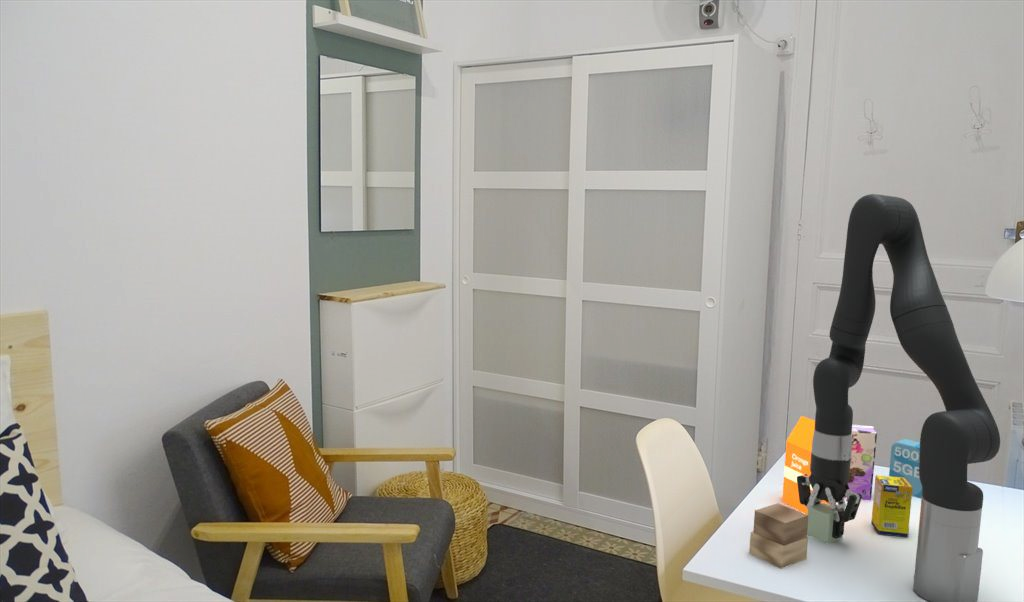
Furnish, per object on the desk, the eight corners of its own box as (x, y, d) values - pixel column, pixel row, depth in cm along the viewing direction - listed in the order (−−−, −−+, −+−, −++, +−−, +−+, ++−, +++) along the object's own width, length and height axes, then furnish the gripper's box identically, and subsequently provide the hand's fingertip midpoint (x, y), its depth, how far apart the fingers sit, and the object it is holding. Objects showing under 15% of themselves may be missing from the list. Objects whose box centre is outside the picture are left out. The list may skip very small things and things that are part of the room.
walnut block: (806, 537, 151) (808, 515, 151) (783, 546, 147) (785, 523, 147) (776, 524, 157) (777, 503, 156) (753, 532, 153) (754, 510, 152)
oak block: (806, 560, 152) (807, 537, 151) (781, 569, 147) (782, 546, 147) (774, 545, 158) (775, 523, 157) (749, 553, 154) (750, 532, 153)
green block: (842, 538, 161) (844, 510, 161) (827, 543, 159) (829, 515, 158) (821, 529, 166) (823, 502, 165) (806, 534, 163) (808, 506, 162)
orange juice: (808, 497, 183) (814, 414, 181) (836, 511, 175) (843, 424, 173) (781, 501, 181) (787, 416, 178) (808, 516, 172) (815, 427, 170)
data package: (887, 488, 191) (891, 440, 189) (895, 484, 194) (900, 437, 192) (939, 504, 182) (944, 453, 180) (947, 499, 184) (952, 450, 183)
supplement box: (908, 537, 163) (913, 486, 161) (877, 534, 164) (882, 484, 162) (900, 526, 168) (905, 477, 167) (870, 523, 170) (875, 474, 168)
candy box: (808, 493, 186) (813, 425, 184) (806, 484, 192) (811, 419, 190) (871, 500, 182) (877, 432, 180) (868, 492, 188) (874, 425, 186)
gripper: (789, 445, 164) (783, 523, 166) (851, 466, 152) (844, 549, 154) (812, 440, 168) (806, 516, 170) (874, 459, 156) (867, 541, 158)
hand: (824, 532), depth 162 cm, fingers closed on green block, 5 cm apart
